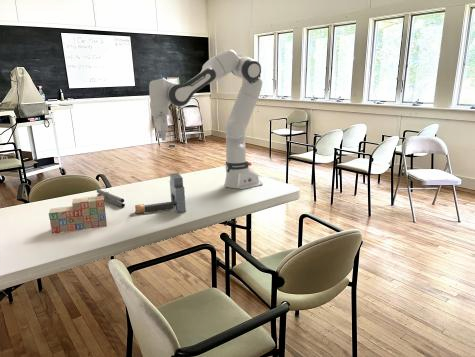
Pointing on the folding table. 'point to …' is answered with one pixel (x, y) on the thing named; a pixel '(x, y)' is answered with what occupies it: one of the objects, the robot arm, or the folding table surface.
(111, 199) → the metal rod assembly
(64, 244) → the folding table surface
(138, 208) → the plug
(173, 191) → the grey notched block
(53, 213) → the stack of blocks
